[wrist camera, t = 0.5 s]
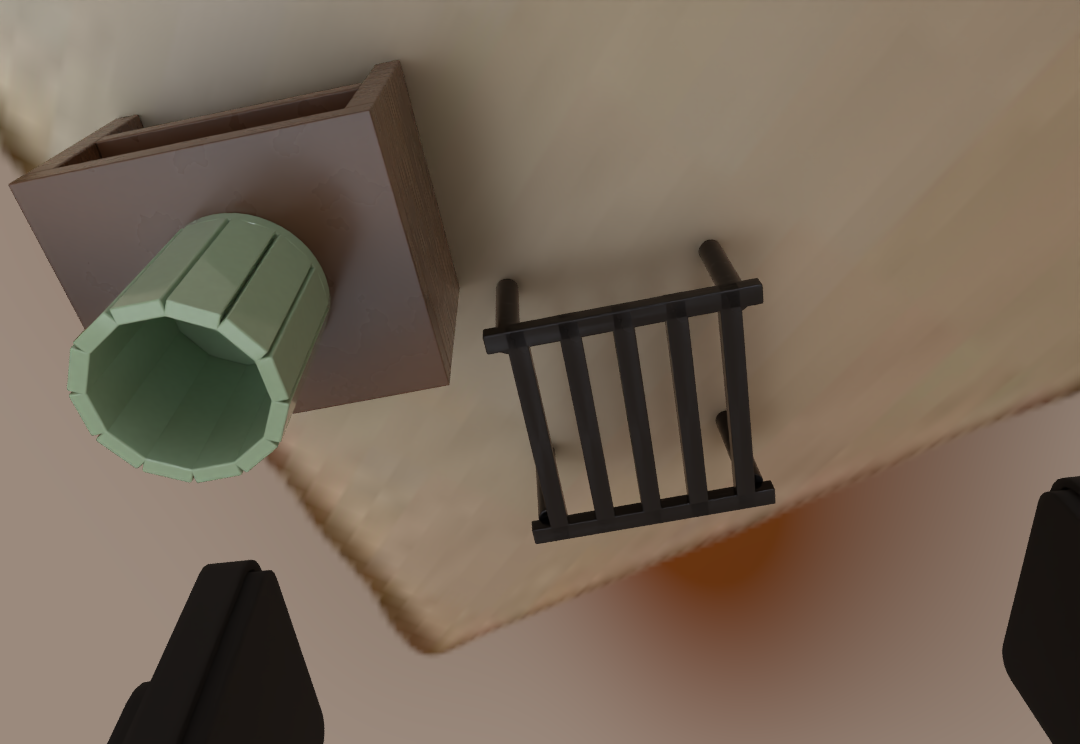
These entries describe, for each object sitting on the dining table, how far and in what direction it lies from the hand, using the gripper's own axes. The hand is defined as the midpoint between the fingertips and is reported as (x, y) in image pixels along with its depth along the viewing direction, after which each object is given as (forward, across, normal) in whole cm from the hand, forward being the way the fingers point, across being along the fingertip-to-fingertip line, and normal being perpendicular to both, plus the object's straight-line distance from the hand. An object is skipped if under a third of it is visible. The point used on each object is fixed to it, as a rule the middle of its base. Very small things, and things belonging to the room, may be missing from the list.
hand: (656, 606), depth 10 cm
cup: (+24, +13, +5) cm, 28 cm away
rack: (+34, -3, +15) cm, 37 cm away
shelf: (+34, +13, +5) cm, 37 cm away
